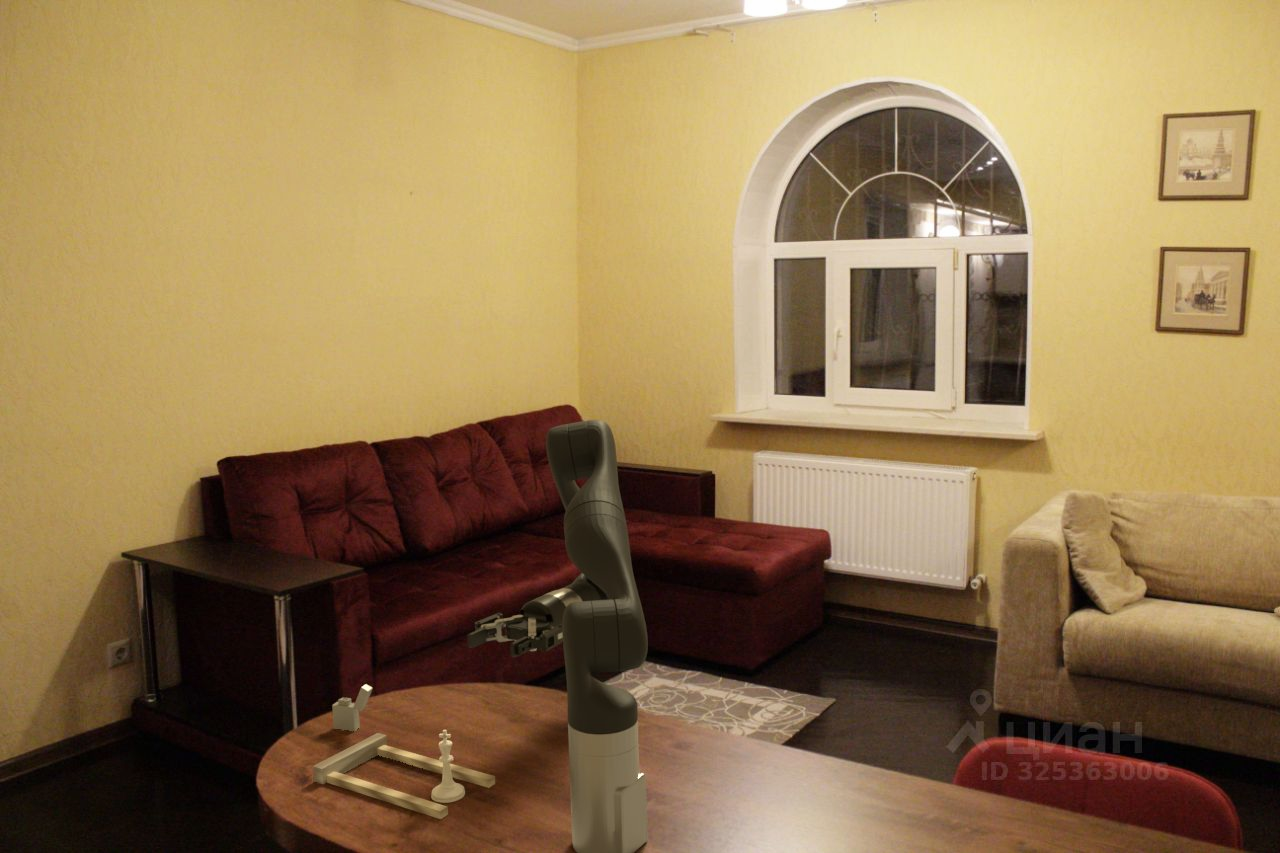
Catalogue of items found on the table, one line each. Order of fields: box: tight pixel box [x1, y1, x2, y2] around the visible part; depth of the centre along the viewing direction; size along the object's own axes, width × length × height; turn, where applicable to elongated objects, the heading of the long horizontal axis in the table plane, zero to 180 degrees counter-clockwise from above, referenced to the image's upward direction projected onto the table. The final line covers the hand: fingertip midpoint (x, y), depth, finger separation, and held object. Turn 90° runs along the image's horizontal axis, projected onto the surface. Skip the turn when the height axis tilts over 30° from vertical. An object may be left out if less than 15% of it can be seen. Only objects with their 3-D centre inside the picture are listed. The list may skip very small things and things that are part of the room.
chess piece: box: [430, 729, 466, 804], centre depth 154 cm, size 5×5×10 cm
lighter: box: [332, 683, 373, 732], centre depth 178 cm, size 7×2×8 cm, turn 74°
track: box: [312, 732, 496, 820], centre depth 159 cm, size 25×14×2 cm, turn 58°
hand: (490, 646), depth 162 cm, fingers open, 8 cm apart
